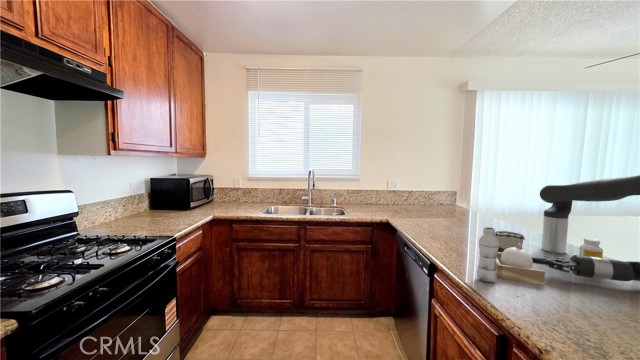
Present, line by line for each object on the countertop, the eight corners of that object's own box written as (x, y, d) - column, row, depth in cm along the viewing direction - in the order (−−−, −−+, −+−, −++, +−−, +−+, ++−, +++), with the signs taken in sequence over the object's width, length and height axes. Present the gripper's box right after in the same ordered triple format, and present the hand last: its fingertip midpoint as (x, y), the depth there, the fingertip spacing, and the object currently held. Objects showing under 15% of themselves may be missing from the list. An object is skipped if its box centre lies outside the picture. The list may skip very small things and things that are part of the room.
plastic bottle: (472, 277, 101) (474, 226, 100) (488, 276, 102) (491, 226, 100) (484, 284, 95) (486, 230, 93) (501, 284, 95) (504, 230, 94)
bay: (489, 262, 116) (489, 251, 116) (528, 267, 111) (529, 255, 110) (497, 277, 101) (498, 265, 100) (544, 285, 95) (544, 271, 94)
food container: (522, 253, 128) (523, 233, 127) (524, 256, 123) (525, 236, 122) (492, 248, 135) (493, 229, 134) (492, 252, 130) (493, 232, 129)
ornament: (532, 272, 106) (534, 243, 105) (531, 281, 98) (533, 249, 97) (501, 265, 112) (503, 238, 111) (498, 273, 105) (500, 244, 104)
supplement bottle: (606, 273, 104) (608, 242, 104) (586, 272, 106) (588, 241, 105) (592, 267, 111) (594, 237, 110) (574, 266, 112) (576, 236, 111)
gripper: (582, 251, 102) (527, 245, 109) (602, 263, 90) (539, 256, 97) (580, 270, 102) (526, 263, 109) (600, 284, 90) (537, 275, 97)
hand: (532, 259), depth 103 cm, fingers closed
